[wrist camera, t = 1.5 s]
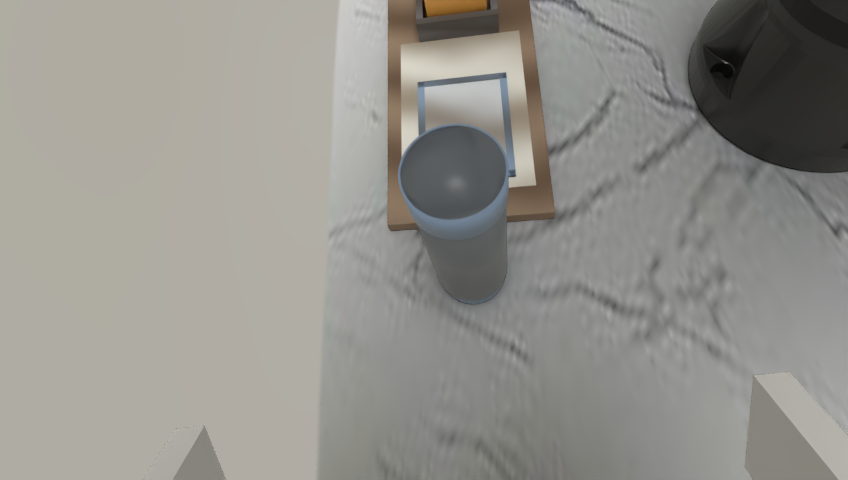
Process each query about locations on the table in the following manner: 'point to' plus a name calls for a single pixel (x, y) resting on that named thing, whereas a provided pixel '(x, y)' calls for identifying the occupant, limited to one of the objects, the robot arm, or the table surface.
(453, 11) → the button
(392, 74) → the wooden board
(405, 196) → the cup
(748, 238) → the table surface
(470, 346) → the table surface
